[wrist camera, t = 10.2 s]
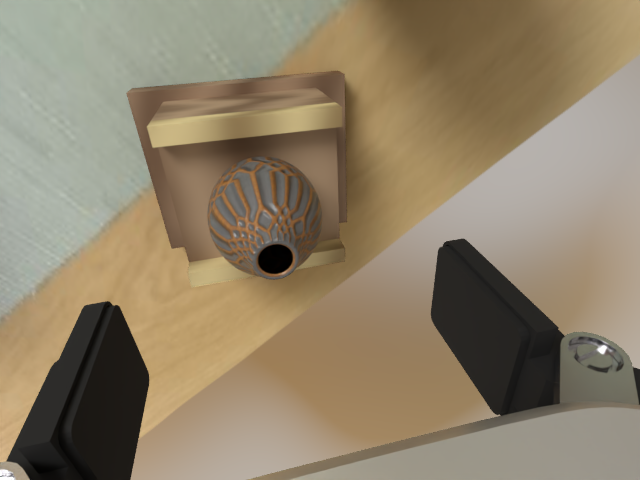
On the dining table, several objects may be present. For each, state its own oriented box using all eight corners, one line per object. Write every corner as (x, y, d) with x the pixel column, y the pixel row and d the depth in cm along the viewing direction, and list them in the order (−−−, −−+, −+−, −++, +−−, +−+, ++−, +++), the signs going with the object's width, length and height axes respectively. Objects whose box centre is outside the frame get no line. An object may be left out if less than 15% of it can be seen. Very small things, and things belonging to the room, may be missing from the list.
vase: (288, 246, 29) (311, 323, 22) (196, 222, 27) (187, 300, 19) (324, 163, 27) (364, 220, 19) (226, 128, 24) (229, 178, 17)
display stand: (337, 70, 32) (377, 89, 24) (341, 212, 38) (373, 265, 30) (131, 88, 29) (98, 116, 21) (174, 237, 36) (160, 302, 28)
